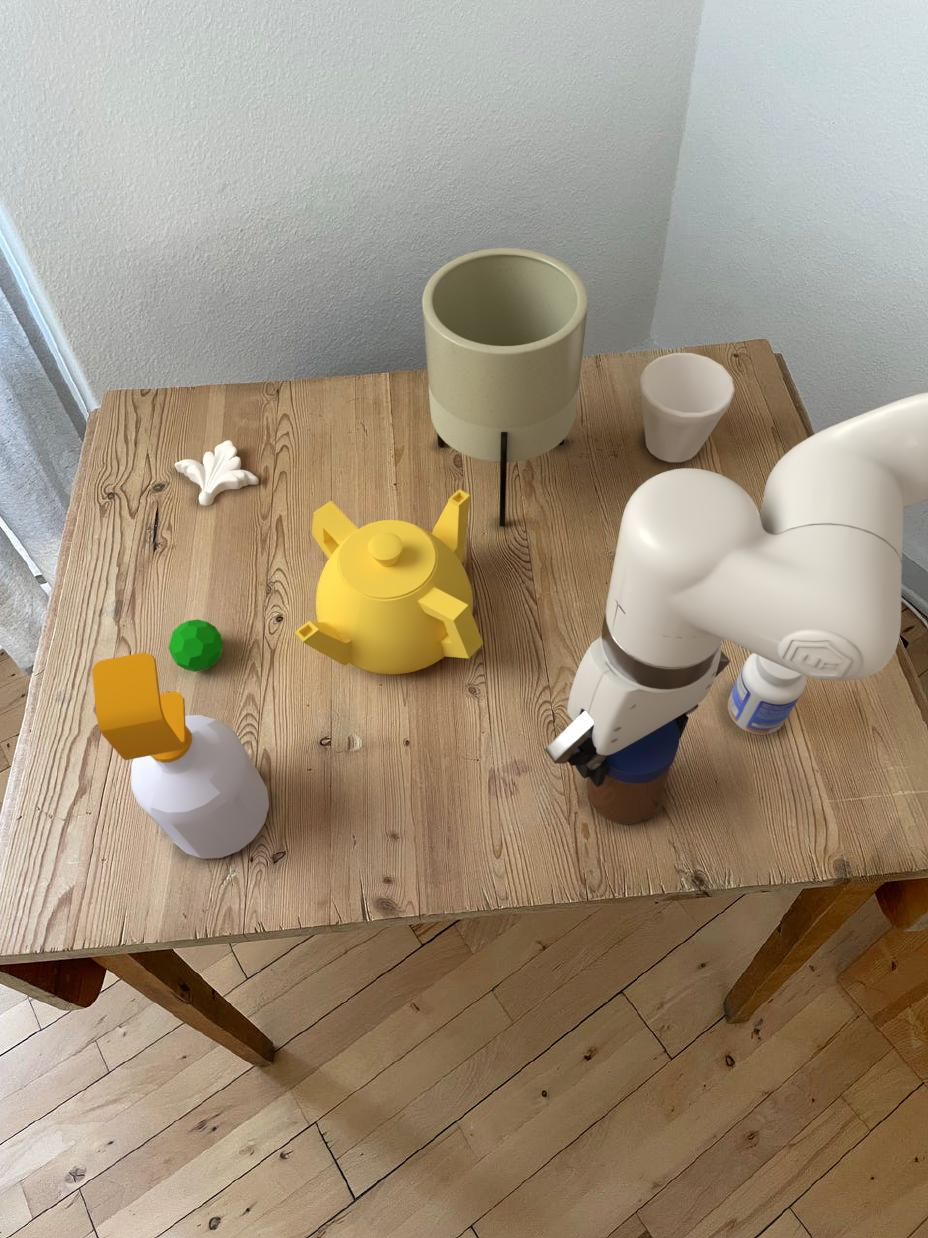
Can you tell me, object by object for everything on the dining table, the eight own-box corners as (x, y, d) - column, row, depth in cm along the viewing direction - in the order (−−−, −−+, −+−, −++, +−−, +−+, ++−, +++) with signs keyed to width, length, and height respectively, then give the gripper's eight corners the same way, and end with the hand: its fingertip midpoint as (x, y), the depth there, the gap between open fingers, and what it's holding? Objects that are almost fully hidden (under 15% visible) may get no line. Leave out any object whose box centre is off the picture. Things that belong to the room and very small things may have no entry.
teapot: (319, 554, 93) (299, 478, 83) (475, 546, 93) (473, 469, 83) (312, 693, 84) (287, 627, 74) (484, 684, 84) (483, 617, 74)
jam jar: (666, 763, 79) (681, 708, 70) (656, 831, 75) (670, 784, 67) (594, 748, 80) (599, 693, 71) (580, 815, 77) (584, 766, 68)
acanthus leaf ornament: (176, 471, 100) (171, 459, 99) (230, 445, 102) (226, 433, 101) (205, 510, 97) (200, 499, 95) (260, 483, 99) (256, 471, 97)
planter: (600, 484, 97) (627, 311, 78) (477, 542, 94) (474, 374, 74) (528, 403, 105) (537, 226, 86) (411, 452, 101) (393, 279, 82)
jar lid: (597, 696, 72) (598, 685, 71) (682, 712, 71) (685, 702, 69) (581, 773, 69) (582, 763, 67) (670, 792, 67) (673, 782, 66)
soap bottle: (265, 754, 81) (188, 607, 60) (274, 849, 76) (193, 724, 55) (167, 774, 80) (55, 631, 59) (169, 870, 75) (48, 752, 54)
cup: (655, 402, 104) (668, 339, 97) (731, 436, 101) (751, 374, 93) (612, 453, 100) (622, 391, 92) (690, 490, 97) (708, 429, 89)
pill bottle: (796, 708, 82) (830, 656, 74) (764, 747, 80) (795, 698, 72) (746, 674, 84) (774, 619, 76) (714, 712, 82) (739, 659, 74)
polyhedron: (223, 631, 88) (210, 604, 84) (232, 671, 86) (219, 646, 82) (174, 645, 87) (159, 619, 83) (181, 685, 85) (166, 661, 81)
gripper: (729, 537, 60) (683, 666, 75) (516, 649, 56) (512, 762, 71) (804, 614, 57) (741, 734, 72) (582, 741, 52) (564, 840, 67)
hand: (627, 747), depth 71 cm, fingers closed on jar lid, 7 cm apart
